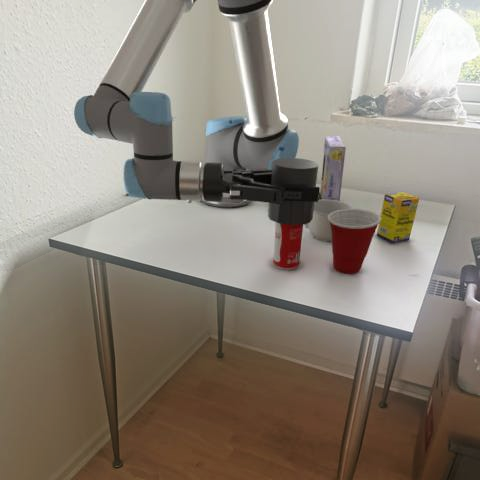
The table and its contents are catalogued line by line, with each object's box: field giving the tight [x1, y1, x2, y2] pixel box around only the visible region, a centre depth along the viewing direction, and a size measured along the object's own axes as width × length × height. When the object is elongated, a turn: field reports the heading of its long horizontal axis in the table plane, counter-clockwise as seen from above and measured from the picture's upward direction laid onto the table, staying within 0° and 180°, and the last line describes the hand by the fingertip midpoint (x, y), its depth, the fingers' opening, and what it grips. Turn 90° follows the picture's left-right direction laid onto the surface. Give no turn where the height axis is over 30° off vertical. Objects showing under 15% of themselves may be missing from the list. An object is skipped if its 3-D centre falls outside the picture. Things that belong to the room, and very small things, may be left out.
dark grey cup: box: [267, 157, 319, 226], centre depth 95 cm, size 9×9×11 cm
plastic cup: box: [328, 208, 381, 275], centre depth 100 cm, size 11×11×12 cm
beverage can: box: [272, 222, 304, 270], centre depth 99 cm, size 6×6×15 cm
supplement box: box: [376, 191, 420, 244], centre depth 117 cm, size 6×6×11 cm
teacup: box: [303, 198, 354, 242], centre depth 117 cm, size 14×11×8 cm
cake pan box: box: [319, 135, 347, 201], centre depth 141 cm, size 19×5×18 cm, turn 175°
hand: (315, 187), depth 94 cm, fingers closed on dark grey cup, 9 cm apart
